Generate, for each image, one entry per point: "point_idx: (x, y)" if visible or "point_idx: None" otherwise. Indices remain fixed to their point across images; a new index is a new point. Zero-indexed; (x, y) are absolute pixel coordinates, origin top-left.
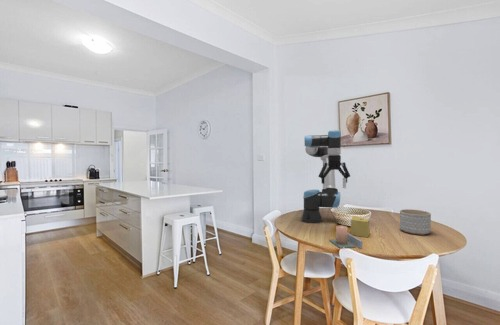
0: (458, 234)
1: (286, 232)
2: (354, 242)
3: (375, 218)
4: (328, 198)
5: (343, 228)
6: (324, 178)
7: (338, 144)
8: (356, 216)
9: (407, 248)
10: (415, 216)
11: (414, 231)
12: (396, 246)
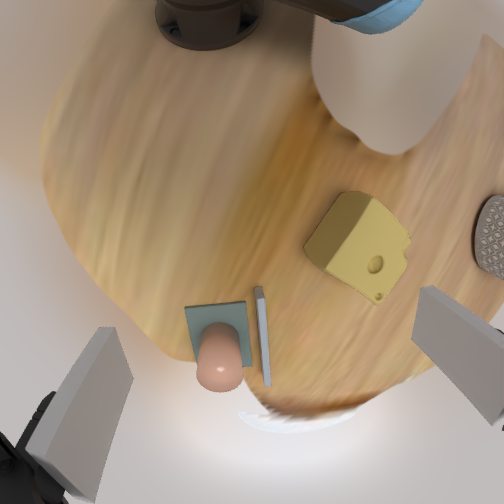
0: None
1: (47, 195)
2: (260, 351)
3: (474, 70)
4: None
5: (218, 391)
6: (65, 482)
7: None
8: (384, 213)
9: (385, 362)
10: None
11: (481, 265)
12: (372, 352)
